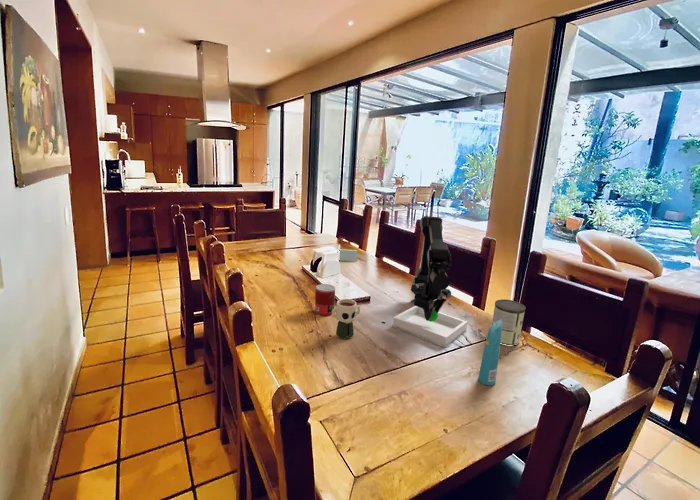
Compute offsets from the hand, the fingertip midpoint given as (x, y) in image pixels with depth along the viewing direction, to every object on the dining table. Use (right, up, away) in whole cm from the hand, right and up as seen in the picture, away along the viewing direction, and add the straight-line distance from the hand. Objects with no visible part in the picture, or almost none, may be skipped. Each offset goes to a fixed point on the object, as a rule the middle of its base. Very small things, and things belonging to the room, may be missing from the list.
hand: (430, 318), depth 142 cm
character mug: (-33, -5, -8) cm, 34 cm away
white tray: (0, -4, +1) cm, 4 cm away
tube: (+10, -13, -30) cm, 35 cm away
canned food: (-41, 0, +10) cm, 43 cm away
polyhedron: (0, -1, 0) cm, 1 cm away
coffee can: (+26, -7, -4) cm, 28 cm away
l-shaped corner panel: (-33, +20, +88) cm, 96 cm away
